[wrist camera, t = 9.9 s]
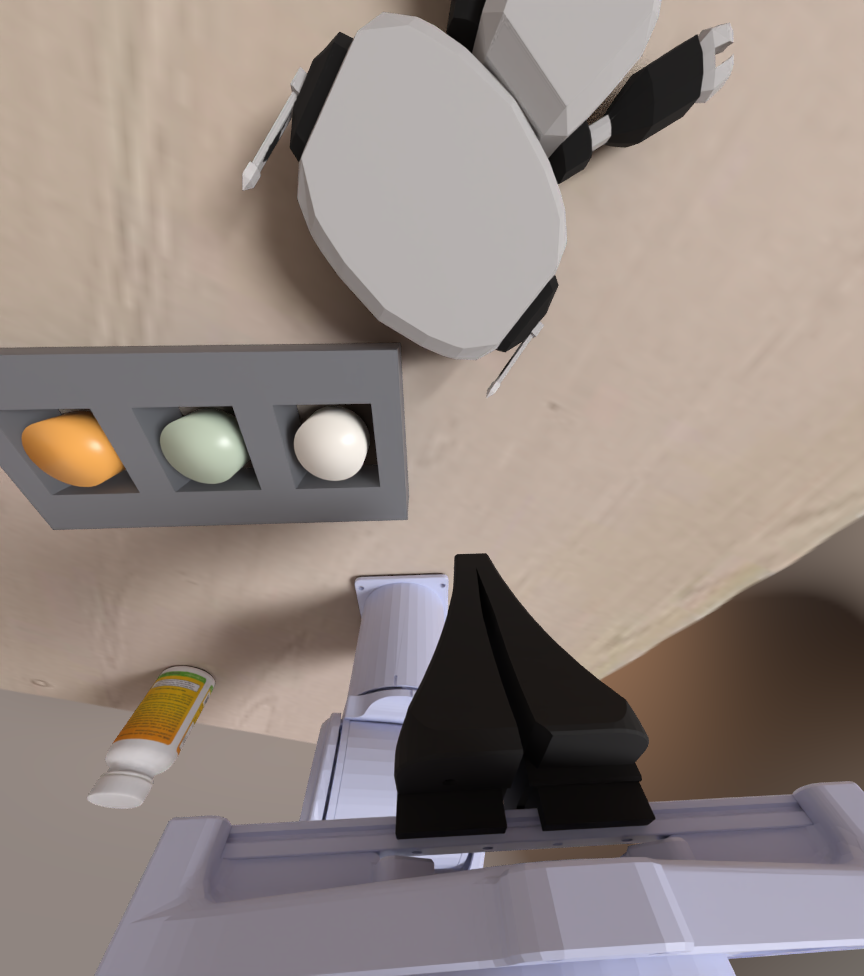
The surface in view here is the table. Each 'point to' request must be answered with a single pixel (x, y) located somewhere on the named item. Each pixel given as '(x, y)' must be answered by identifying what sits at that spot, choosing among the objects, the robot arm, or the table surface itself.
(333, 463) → the ivory button
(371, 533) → the table surface
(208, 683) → the supplement bottle
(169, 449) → the sage button
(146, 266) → the table surface
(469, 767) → the robot arm
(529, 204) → the robot toy
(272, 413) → the button panel
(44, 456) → the orange button
